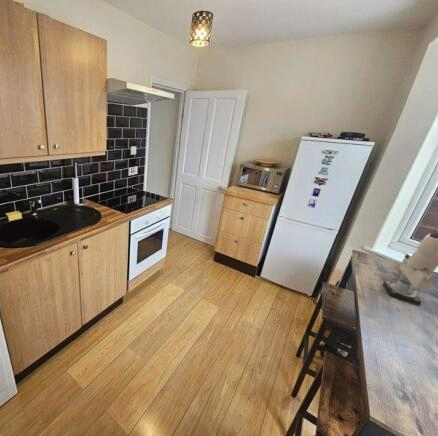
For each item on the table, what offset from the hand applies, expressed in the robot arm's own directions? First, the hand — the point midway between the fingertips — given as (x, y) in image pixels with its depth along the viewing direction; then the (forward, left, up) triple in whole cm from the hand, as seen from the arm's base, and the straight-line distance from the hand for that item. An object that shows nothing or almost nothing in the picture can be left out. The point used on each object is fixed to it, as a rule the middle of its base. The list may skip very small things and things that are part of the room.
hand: (405, 286), depth 116 cm
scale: (0, 0, -6) cm, 6 cm away
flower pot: (-7, -16, -6) cm, 18 cm away
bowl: (0, 0, -2) cm, 2 cm away
